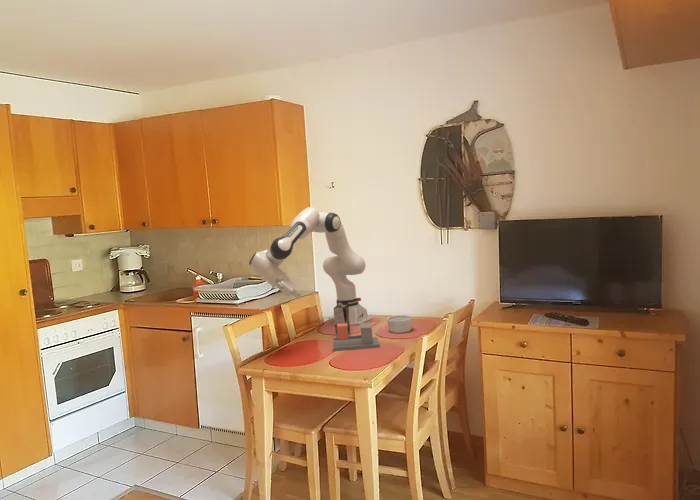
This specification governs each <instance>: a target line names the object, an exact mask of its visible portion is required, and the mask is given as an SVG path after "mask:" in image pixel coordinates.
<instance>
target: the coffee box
mask: <svg viewBox="0 0 700 500" xmlns="http://www.w3.org/2000/svg"><path fill="white" fill-rule="evenodd" d="M333 318H334V319H333V320H334V321H333V322H334V333H335V335H334V336H335V337H338V333H337V324H342V323H347V327H348V336H351V325H350V320H349V308H348V305H337V304H336V306H334V307H333Z"/></svg>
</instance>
